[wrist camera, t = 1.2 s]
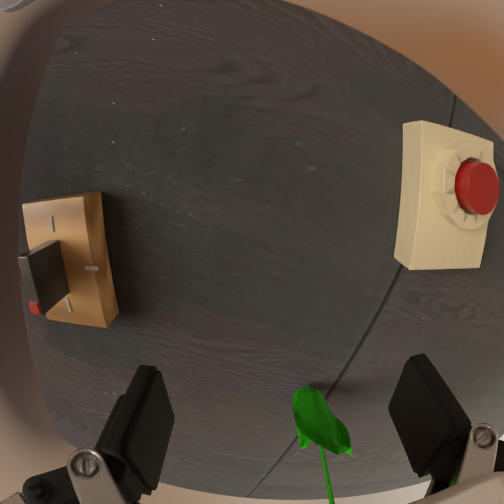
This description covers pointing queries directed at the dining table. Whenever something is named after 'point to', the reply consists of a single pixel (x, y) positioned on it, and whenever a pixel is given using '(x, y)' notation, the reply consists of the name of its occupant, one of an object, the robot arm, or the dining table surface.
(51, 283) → the black block
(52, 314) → the dial panel
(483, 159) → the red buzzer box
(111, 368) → the dining table surface
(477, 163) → the red button
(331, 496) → the flower
